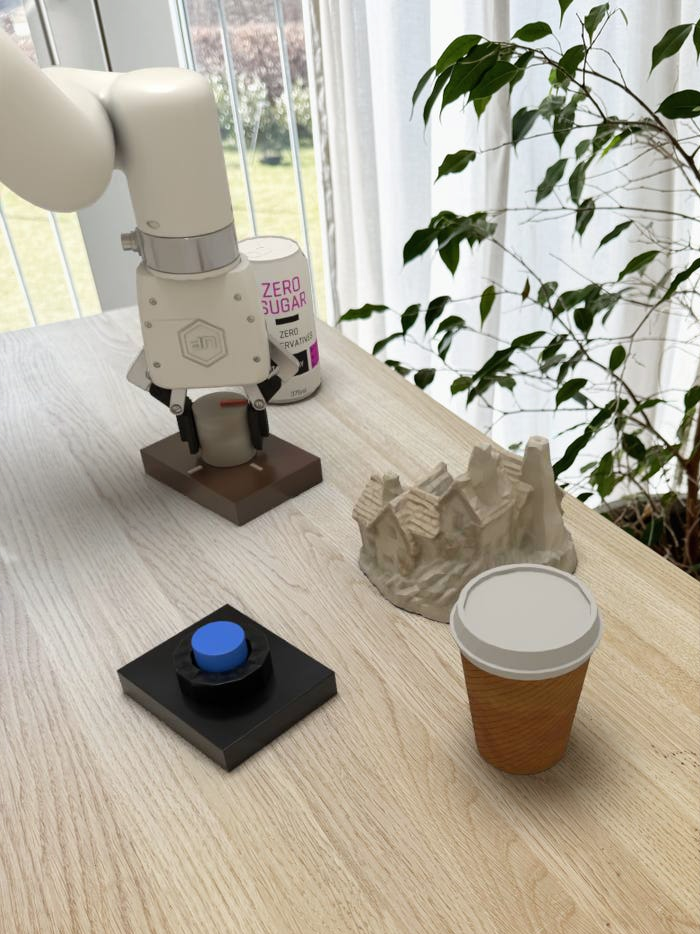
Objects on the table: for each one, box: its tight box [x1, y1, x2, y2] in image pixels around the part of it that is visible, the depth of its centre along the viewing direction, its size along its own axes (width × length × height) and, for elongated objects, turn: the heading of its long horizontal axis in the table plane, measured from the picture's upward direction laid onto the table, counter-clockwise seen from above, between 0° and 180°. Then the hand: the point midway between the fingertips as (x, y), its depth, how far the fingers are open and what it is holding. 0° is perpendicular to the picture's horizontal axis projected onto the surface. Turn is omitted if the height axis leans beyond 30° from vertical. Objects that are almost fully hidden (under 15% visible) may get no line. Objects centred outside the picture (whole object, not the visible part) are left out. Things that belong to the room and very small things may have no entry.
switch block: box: [116, 603, 338, 774], centre depth 71 cm, size 12×10×4 cm
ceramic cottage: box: [351, 435, 579, 624], centre depth 80 cm, size 16×16×15 cm
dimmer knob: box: [192, 390, 256, 467], centre depth 91 cm, size 5×5×5 cm
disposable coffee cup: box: [449, 563, 605, 775], centre depth 65 cm, size 10×10×12 cm
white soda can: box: [237, 234, 322, 404], centre depth 103 cm, size 8×8×15 cm
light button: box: [191, 621, 248, 673], centre depth 70 cm, size 4×4×2 cm
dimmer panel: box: [139, 431, 324, 527], centre depth 94 cm, size 14×10×3 cm
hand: (227, 443), depth 92 cm, fingers closed on dimmer knob, 5 cm apart
